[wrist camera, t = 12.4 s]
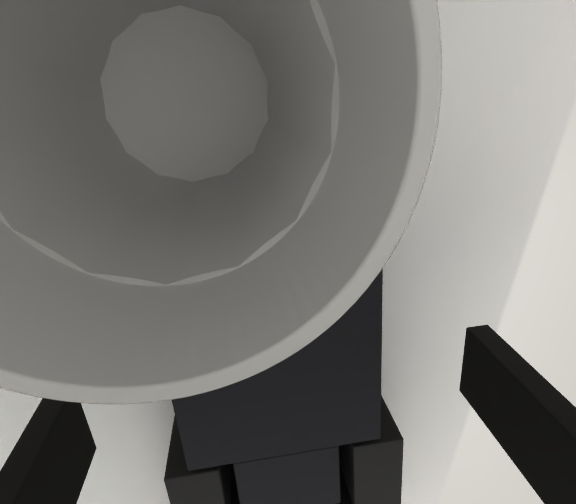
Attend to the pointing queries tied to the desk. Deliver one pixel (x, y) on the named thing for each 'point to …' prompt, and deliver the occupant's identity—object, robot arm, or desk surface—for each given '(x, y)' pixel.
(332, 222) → the cup
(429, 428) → the desk surface
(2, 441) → the desk surface
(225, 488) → the notch pad
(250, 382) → the tab pad
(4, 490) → the robot arm
